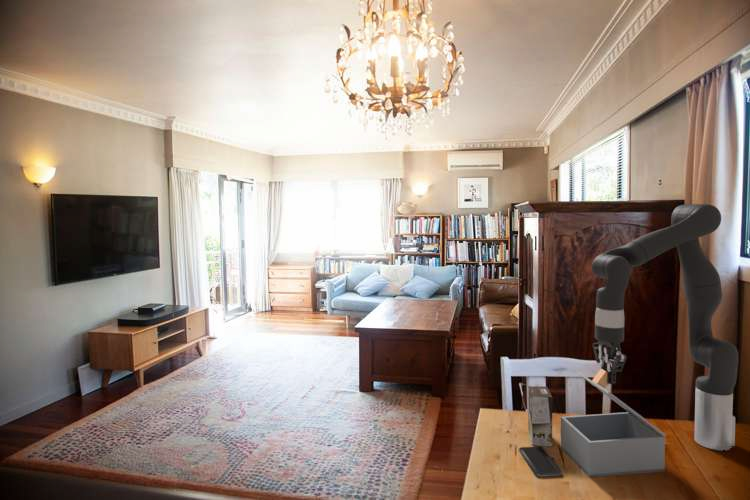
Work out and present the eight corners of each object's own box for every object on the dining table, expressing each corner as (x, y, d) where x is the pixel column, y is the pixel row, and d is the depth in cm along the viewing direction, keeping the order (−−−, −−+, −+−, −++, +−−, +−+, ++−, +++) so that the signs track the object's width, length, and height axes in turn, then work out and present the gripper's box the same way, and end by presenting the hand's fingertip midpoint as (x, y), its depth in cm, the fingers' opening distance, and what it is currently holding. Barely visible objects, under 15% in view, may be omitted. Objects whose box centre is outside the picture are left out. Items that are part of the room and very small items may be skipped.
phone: (536, 475, 124) (518, 447, 139) (536, 479, 124) (518, 450, 139) (564, 473, 124) (543, 446, 139) (564, 477, 124) (543, 449, 139)
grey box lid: (628, 411, 140) (638, 398, 140) (665, 436, 124) (676, 422, 124) (576, 373, 138) (586, 359, 138) (607, 393, 122) (619, 378, 122)
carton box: (627, 442, 141) (628, 412, 140) (664, 471, 125) (665, 437, 124) (560, 447, 139) (560, 416, 139) (589, 477, 123) (589, 442, 123)
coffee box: (553, 447, 140) (553, 397, 139) (531, 445, 141) (531, 396, 140) (547, 433, 149) (547, 386, 148) (527, 431, 150) (527, 385, 149)
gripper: (637, 329, 122) (636, 390, 124) (607, 317, 136) (606, 372, 138) (611, 330, 122) (610, 391, 123) (583, 318, 136) (583, 374, 137)
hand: (608, 381), depth 130 cm, fingers closed on grey box lid, 2 cm apart
